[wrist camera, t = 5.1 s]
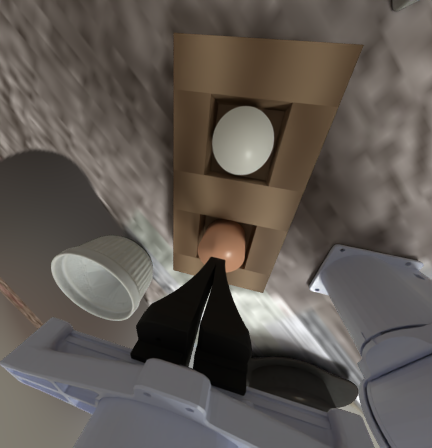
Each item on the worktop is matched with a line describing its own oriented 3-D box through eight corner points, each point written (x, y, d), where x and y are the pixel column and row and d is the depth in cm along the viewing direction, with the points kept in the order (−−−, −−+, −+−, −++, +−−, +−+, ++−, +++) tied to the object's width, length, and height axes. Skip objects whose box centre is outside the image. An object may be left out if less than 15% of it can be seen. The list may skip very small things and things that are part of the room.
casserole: (367, 361, 27) (411, 441, 20) (337, 402, 35) (360, 471, 28) (226, 335, 32) (219, 391, 25) (228, 376, 40) (223, 428, 33)
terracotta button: (249, 223, 17) (249, 239, 14) (241, 256, 19) (239, 277, 16) (208, 214, 18) (199, 228, 15) (204, 248, 20) (196, 266, 17)
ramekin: (82, 248, 29) (36, 274, 23) (118, 213, 24) (71, 236, 17) (132, 294, 32) (105, 328, 26) (174, 272, 27) (152, 309, 21)
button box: (331, 74, 13) (363, 44, 9) (260, 270, 23) (262, 292, 19) (192, 62, 14) (173, 32, 10) (184, 252, 24) (173, 270, 21)
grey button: (275, 118, 14) (283, 110, 11) (261, 173, 16) (264, 179, 13) (223, 112, 14) (216, 102, 11) (216, 166, 17) (209, 170, 13)
